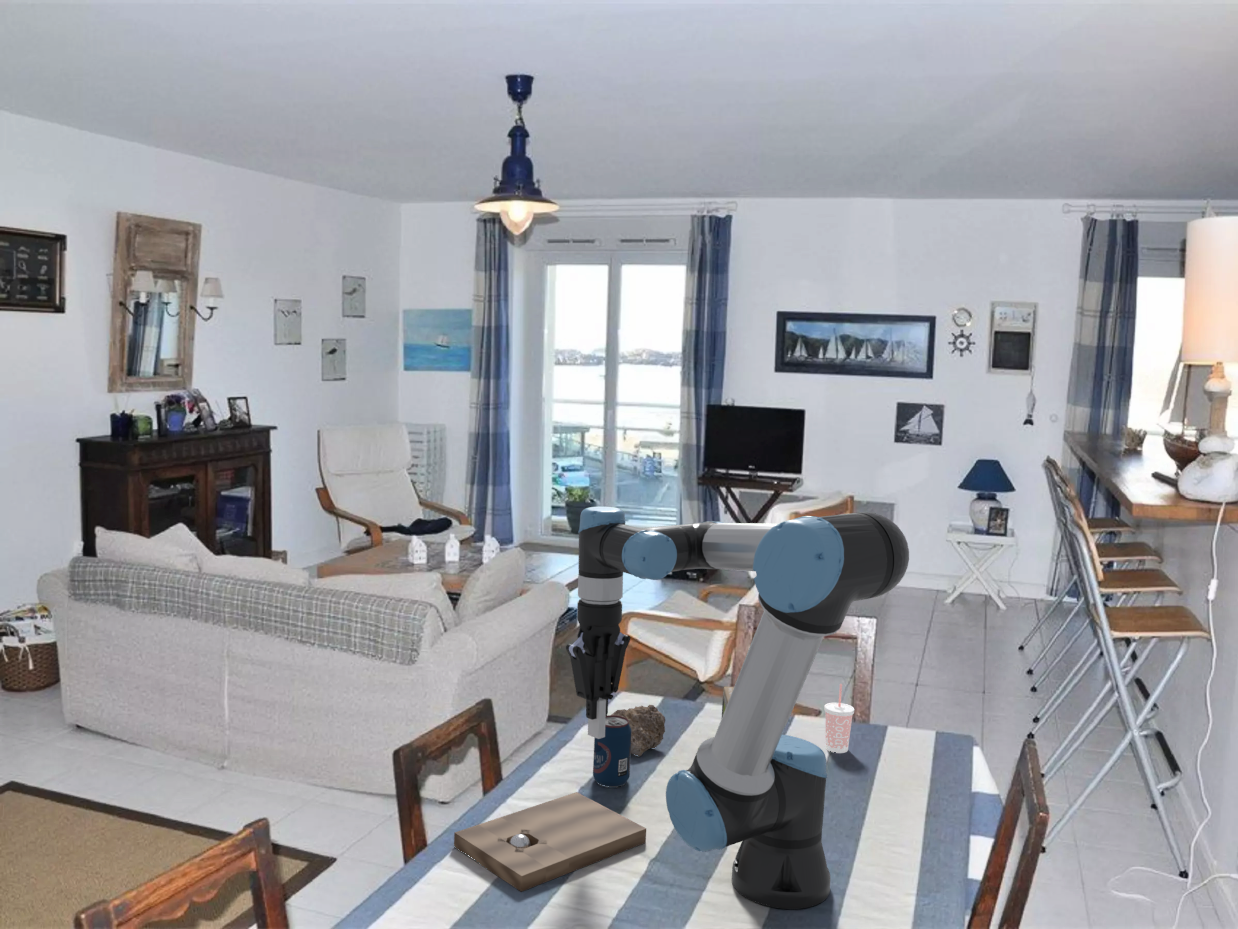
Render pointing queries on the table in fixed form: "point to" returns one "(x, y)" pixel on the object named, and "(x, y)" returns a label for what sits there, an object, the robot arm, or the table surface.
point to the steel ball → (520, 841)
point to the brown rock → (644, 727)
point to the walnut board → (549, 840)
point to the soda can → (613, 752)
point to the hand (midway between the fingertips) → (596, 735)
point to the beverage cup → (838, 725)
